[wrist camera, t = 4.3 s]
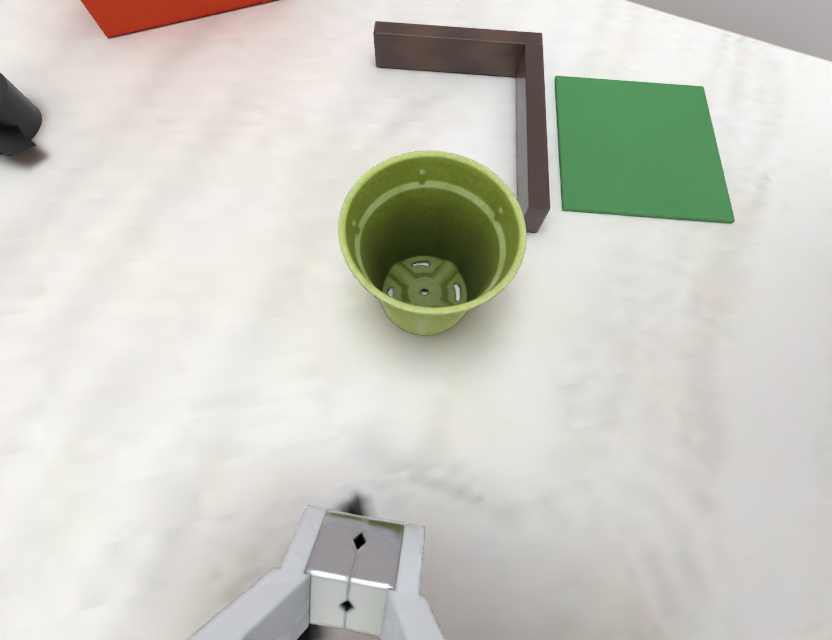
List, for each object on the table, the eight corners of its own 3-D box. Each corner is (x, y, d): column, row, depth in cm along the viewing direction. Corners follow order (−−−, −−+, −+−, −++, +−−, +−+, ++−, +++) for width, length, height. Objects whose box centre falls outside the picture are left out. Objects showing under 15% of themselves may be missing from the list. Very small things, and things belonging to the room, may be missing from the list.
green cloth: (701, 89, 35) (703, 86, 35) (731, 223, 30) (734, 221, 30) (554, 78, 35) (555, 75, 35) (562, 210, 30) (563, 208, 30)
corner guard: (532, 66, 36) (542, 32, 33) (537, 232, 30) (550, 208, 27) (377, 55, 36) (375, 20, 33) (351, 218, 30) (346, 193, 27)
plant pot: (480, 231, 30) (507, 143, 21) (503, 352, 26) (545, 302, 18) (355, 242, 29) (334, 156, 21) (363, 367, 26) (342, 322, 18)
